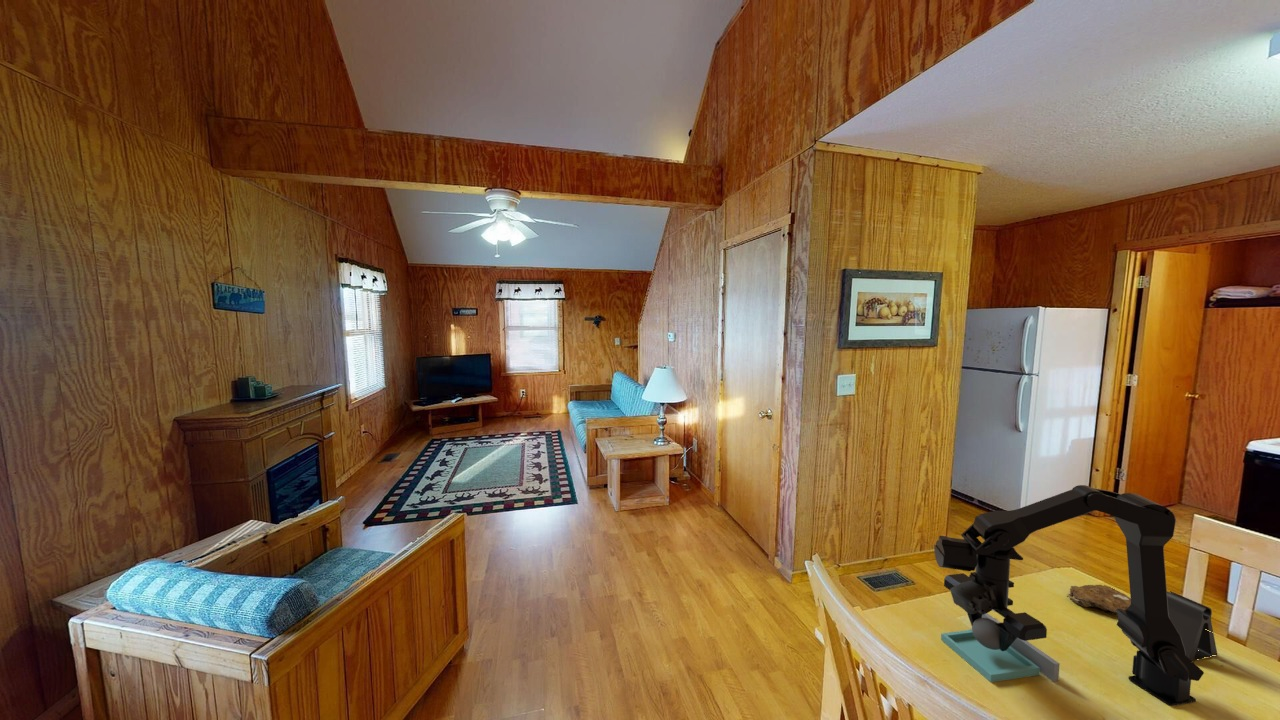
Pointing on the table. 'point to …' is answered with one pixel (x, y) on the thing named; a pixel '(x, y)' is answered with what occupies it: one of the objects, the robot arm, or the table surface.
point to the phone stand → (1192, 626)
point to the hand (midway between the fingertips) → (988, 639)
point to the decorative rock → (1099, 597)
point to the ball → (986, 633)
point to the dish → (990, 658)
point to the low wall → (1035, 656)
